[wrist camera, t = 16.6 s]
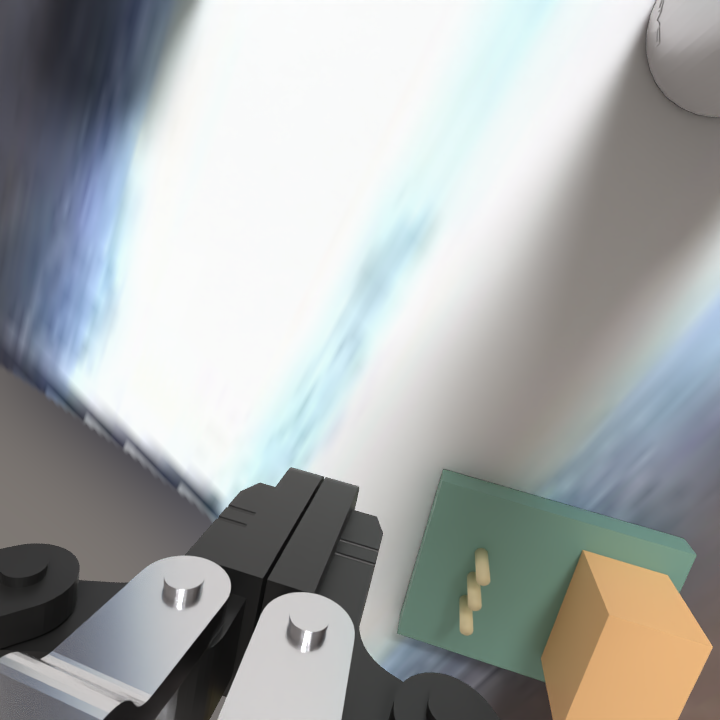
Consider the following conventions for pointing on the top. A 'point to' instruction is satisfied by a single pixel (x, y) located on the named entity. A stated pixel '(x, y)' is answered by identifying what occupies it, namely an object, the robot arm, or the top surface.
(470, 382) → the top surface
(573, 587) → the block
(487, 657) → the header board
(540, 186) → the top surface
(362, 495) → the top surface
